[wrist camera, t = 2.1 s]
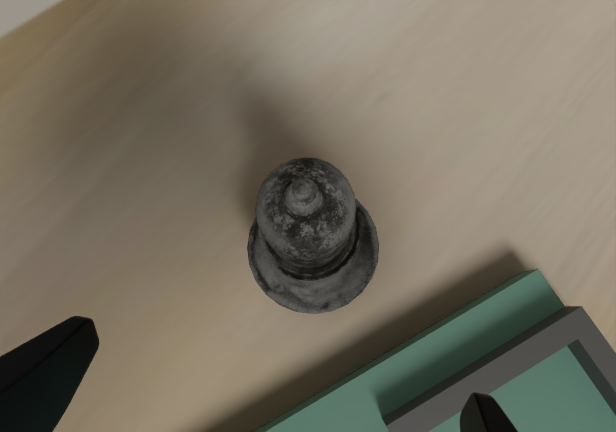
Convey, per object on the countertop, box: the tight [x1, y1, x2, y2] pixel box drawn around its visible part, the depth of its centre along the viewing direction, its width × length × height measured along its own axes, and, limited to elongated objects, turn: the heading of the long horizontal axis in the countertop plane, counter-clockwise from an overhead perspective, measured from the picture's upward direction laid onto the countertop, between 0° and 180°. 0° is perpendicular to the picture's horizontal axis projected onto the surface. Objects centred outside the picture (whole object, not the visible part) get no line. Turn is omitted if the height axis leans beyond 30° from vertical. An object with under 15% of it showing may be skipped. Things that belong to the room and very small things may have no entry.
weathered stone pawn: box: [247, 158, 379, 314], centre depth 14 cm, size 6×6×12 cm
